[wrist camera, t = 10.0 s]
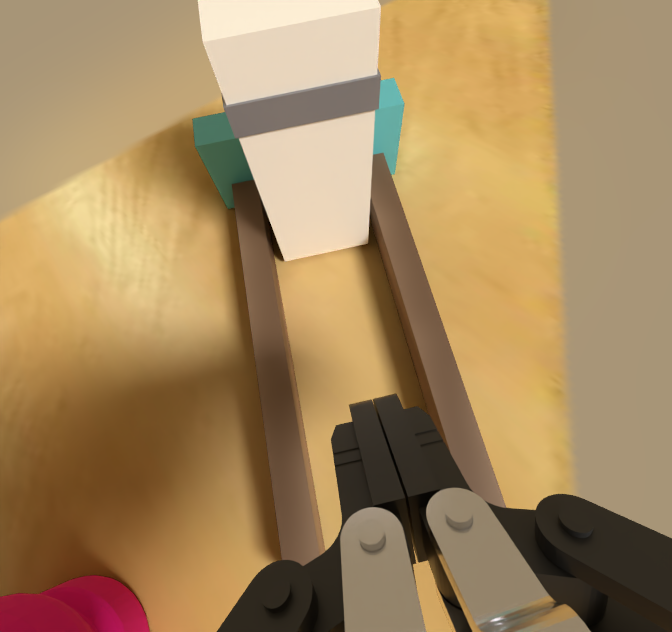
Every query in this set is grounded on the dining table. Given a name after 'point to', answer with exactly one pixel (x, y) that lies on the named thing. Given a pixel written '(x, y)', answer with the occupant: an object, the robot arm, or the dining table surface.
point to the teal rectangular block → (231, 162)
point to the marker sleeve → (302, 110)
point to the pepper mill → (75, 608)
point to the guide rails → (279, 378)
